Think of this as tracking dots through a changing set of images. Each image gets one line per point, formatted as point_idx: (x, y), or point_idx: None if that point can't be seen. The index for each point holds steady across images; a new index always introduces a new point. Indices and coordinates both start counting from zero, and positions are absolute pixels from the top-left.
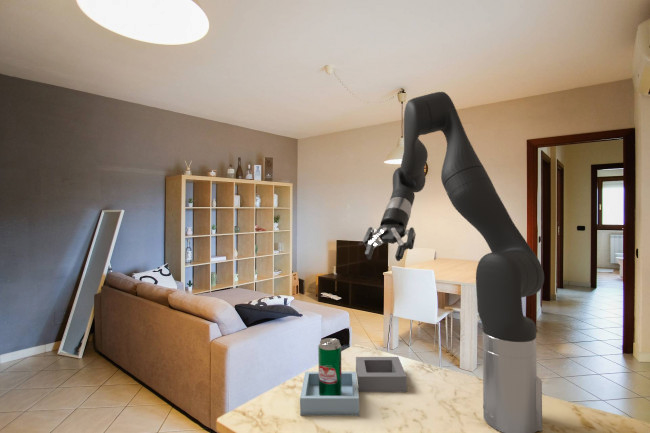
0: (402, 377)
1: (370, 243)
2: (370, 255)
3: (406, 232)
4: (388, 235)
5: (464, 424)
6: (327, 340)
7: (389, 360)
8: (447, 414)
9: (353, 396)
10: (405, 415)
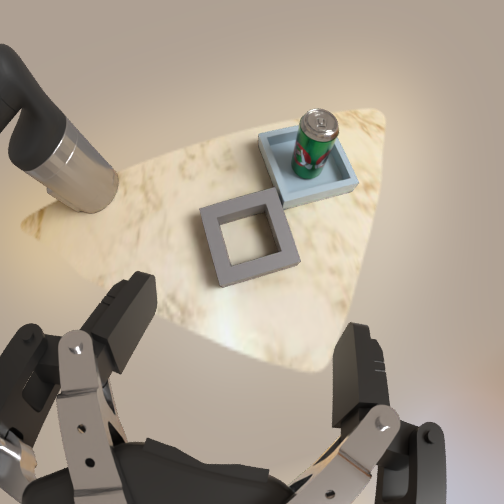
0: (206, 207)
1: (374, 412)
2: (339, 358)
3: (19, 470)
4: (190, 497)
5: (140, 167)
6: (327, 124)
7: (234, 265)
8: (154, 179)
9: (266, 136)
10: (203, 161)
